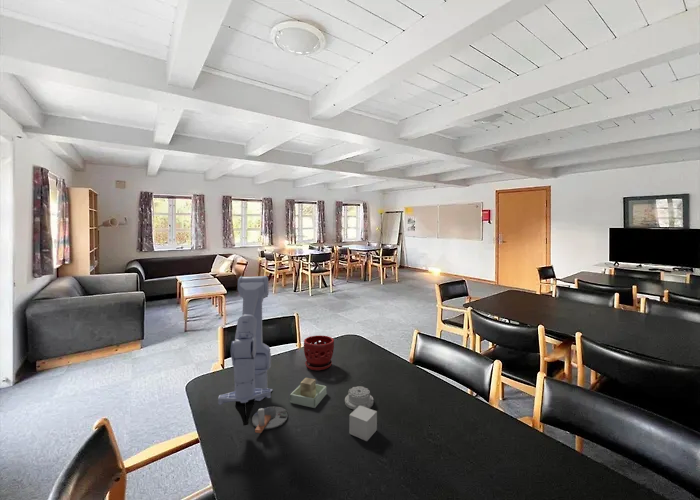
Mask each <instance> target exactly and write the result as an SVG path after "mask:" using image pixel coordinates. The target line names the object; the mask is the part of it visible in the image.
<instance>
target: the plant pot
mask: <svg viewBox="0 0 700 500" xmlns="http://www.w3.org/2000/svg"><path fill="white" fill-rule="evenodd" d="M315 343H316V344H315ZM334 348H335V339H334V338H333V337H331V336H329V335H311V336H308V337H306V338H304V340H303V352H304V357H305V360H306V361H305V363H304V364H305V366H306V368H308V369H309V370H312V371H323V370H327V369H329V368H330V367H331V366H332V364H333V362H332V361H333V360H332V358H333V356H334V355H333V354H334V351H335V350H334Z"/></svg>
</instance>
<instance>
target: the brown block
mask: <svg viewBox="0 0 700 500" xmlns="http://www.w3.org/2000/svg"><path fill="white" fill-rule="evenodd" d="M316 384H317V383H316V379H315V378H310V377H305V378H303V379H302V381H301V382H300V383H299V385H300V396H305V397H310V398H314V397H315V396H316Z"/></svg>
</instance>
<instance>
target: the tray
mask: <svg viewBox="0 0 700 500" xmlns="http://www.w3.org/2000/svg"><path fill="white" fill-rule="evenodd" d="M327 387H328V386H326V385H323V384H319V383H316V396H315V397H314V398H310V397H305V396H300V384H299V385H298V386H296V388H295V389H294V390H293V391H292V392H291V393H290V394H289V403H290V404H294V405H299V406H304V407H309V408H313V409H316V407H318V405H319V404H320V403H321V402H322V400H323V399H324V398H325V397H326V396H327V394H328V392H327V389H328V388H327Z"/></svg>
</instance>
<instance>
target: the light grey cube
mask: <svg viewBox="0 0 700 500" xmlns="http://www.w3.org/2000/svg"><path fill="white" fill-rule="evenodd" d="M348 417H349V419H348V420H349V421H348V422H349V429H348V430H349V435H352V436H354V437H356V438H359V439H361V440H363V441H365V442H368V441H369V440H370V439H371V438H372V436H373V435H374V434H375V433H376V431H378V424H377V423H378V411H377V410H374V409H371V408H366V407H363V406H361V405H360V406H359V407H358V408H356V409H355V410H353V411H352V412H351V413H350V414H349V415H348Z"/></svg>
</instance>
